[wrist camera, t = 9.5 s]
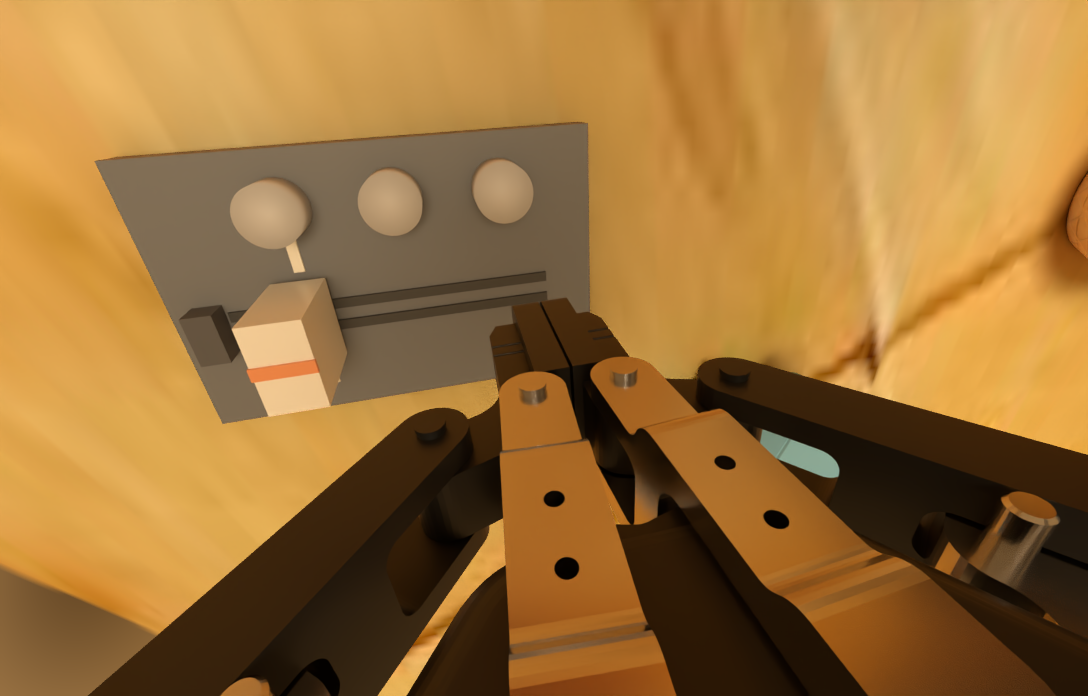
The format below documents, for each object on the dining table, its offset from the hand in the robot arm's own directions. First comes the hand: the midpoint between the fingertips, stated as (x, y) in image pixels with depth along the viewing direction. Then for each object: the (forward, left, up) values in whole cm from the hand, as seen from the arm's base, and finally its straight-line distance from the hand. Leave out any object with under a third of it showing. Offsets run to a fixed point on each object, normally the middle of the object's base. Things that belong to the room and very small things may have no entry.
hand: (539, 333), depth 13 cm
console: (+6, +4, -19) cm, 20 cm away
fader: (+11, +5, -17) cm, 21 cm away
